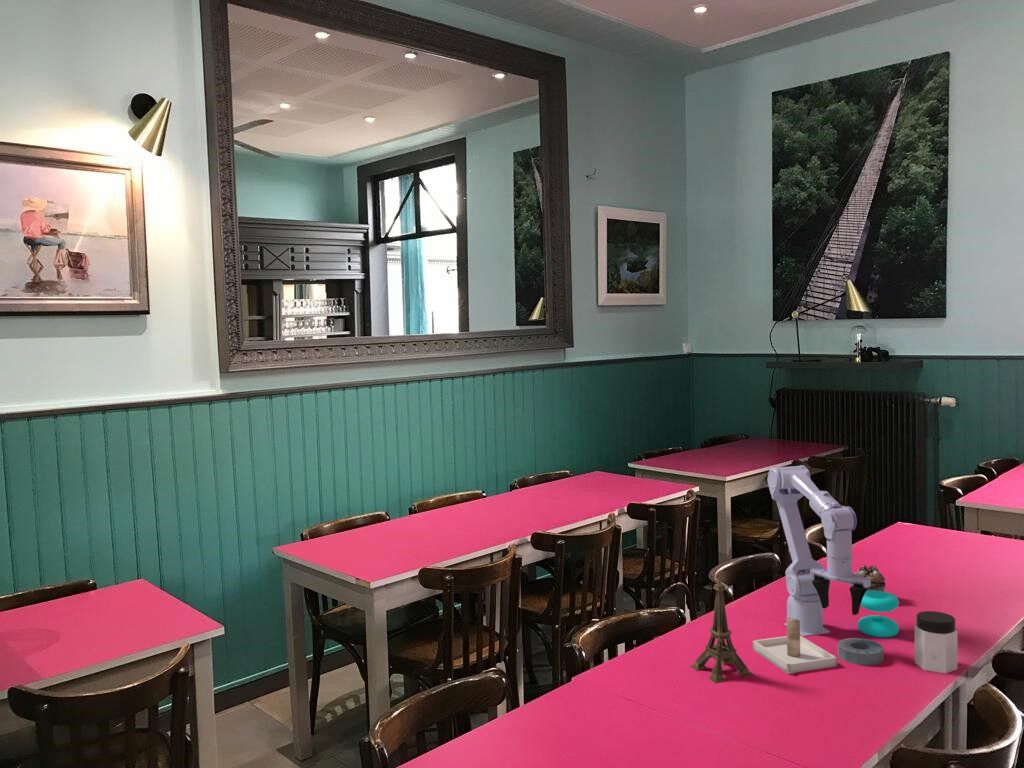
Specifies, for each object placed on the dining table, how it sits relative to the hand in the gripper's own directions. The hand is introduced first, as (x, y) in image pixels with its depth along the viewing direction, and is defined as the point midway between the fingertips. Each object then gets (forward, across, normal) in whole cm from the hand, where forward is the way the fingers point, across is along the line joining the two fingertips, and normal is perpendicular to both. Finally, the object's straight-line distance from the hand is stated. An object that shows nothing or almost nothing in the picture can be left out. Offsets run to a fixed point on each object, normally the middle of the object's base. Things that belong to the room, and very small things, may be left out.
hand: (840, 610), depth 206 cm
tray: (+10, -7, -11) cm, 17 cm away
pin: (+10, -7, -11) cm, 16 cm away
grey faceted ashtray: (+10, +5, -1) cm, 12 cm away
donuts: (+11, +1, +19) cm, 22 cm away
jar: (+11, +20, +6) cm, 24 cm away
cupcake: (+10, -12, +42) cm, 45 cm away
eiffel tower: (+11, -16, -29) cm, 35 cm away
